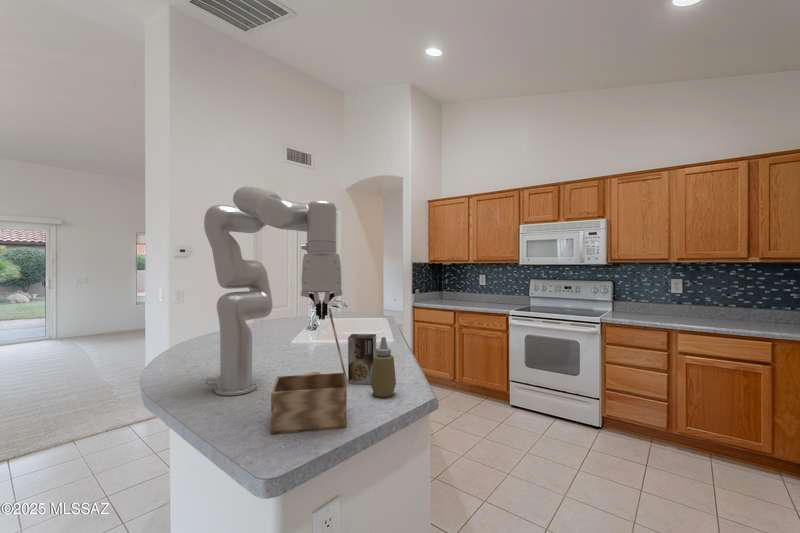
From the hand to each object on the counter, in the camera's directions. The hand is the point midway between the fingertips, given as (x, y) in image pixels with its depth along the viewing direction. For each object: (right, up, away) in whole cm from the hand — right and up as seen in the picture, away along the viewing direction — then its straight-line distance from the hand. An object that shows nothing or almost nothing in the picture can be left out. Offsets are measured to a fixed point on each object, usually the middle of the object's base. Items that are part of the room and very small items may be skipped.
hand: (321, 318), depth 97 cm
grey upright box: (+8, -27, +31) cm, 42 cm away
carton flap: (+4, -7, +1) cm, 8 cm away
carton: (-3, -27, 0) cm, 27 cm away
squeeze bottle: (+15, -27, +19) cm, 36 cm away
